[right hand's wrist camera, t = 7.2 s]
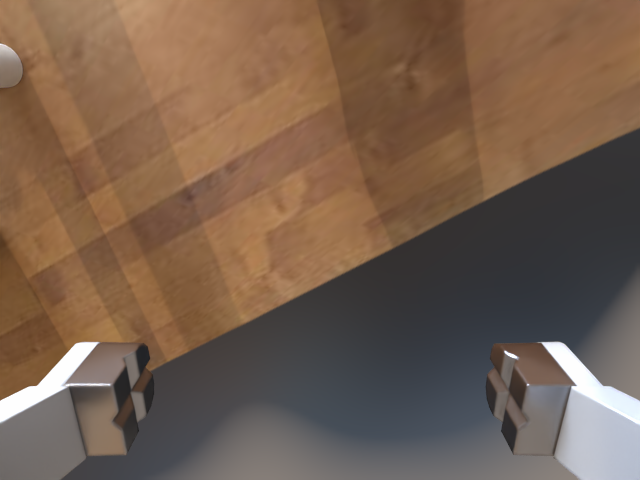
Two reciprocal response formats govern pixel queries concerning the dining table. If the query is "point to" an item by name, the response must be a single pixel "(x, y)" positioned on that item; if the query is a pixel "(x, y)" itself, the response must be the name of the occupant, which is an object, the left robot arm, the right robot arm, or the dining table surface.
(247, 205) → the dining table surface
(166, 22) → the dining table surface
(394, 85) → the dining table surface
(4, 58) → the bottle
